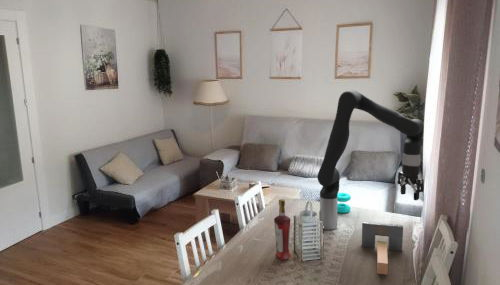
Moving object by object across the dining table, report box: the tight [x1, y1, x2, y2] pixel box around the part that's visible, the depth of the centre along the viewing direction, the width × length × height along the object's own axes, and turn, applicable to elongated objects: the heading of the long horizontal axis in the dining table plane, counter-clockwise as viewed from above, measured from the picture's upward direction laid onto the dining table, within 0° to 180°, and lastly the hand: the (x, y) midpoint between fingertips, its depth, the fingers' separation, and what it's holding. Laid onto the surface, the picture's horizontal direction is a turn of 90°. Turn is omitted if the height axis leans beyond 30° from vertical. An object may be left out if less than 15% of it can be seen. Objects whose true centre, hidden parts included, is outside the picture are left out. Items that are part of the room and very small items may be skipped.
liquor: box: [273, 198, 291, 261], centre depth 167 cm, size 7×7×28 cm
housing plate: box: [361, 221, 404, 252], centre depth 174 cm, size 18×2×12 cm, turn 71°
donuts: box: [337, 192, 352, 214], centre depth 221 cm, size 10×10×10 cm
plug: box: [376, 240, 389, 275], centre depth 162 cm, size 4×20×5 cm, turn 161°
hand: (409, 196), depth 171 cm, fingers open, 8 cm apart
